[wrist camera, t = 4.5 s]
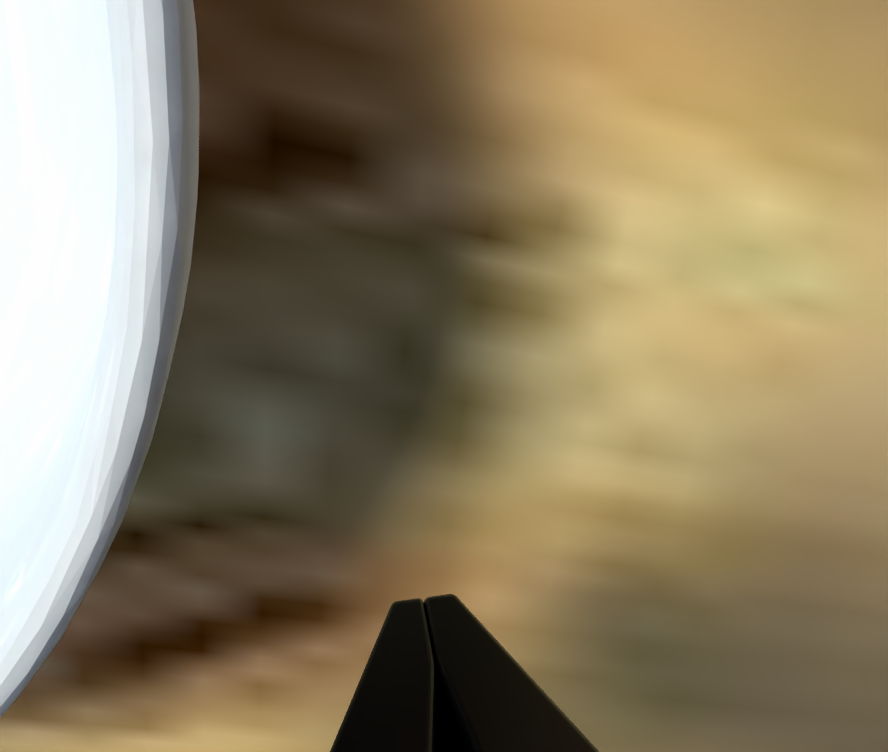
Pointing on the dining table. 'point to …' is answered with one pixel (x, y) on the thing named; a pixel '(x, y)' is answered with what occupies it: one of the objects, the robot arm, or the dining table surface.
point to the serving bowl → (85, 287)
